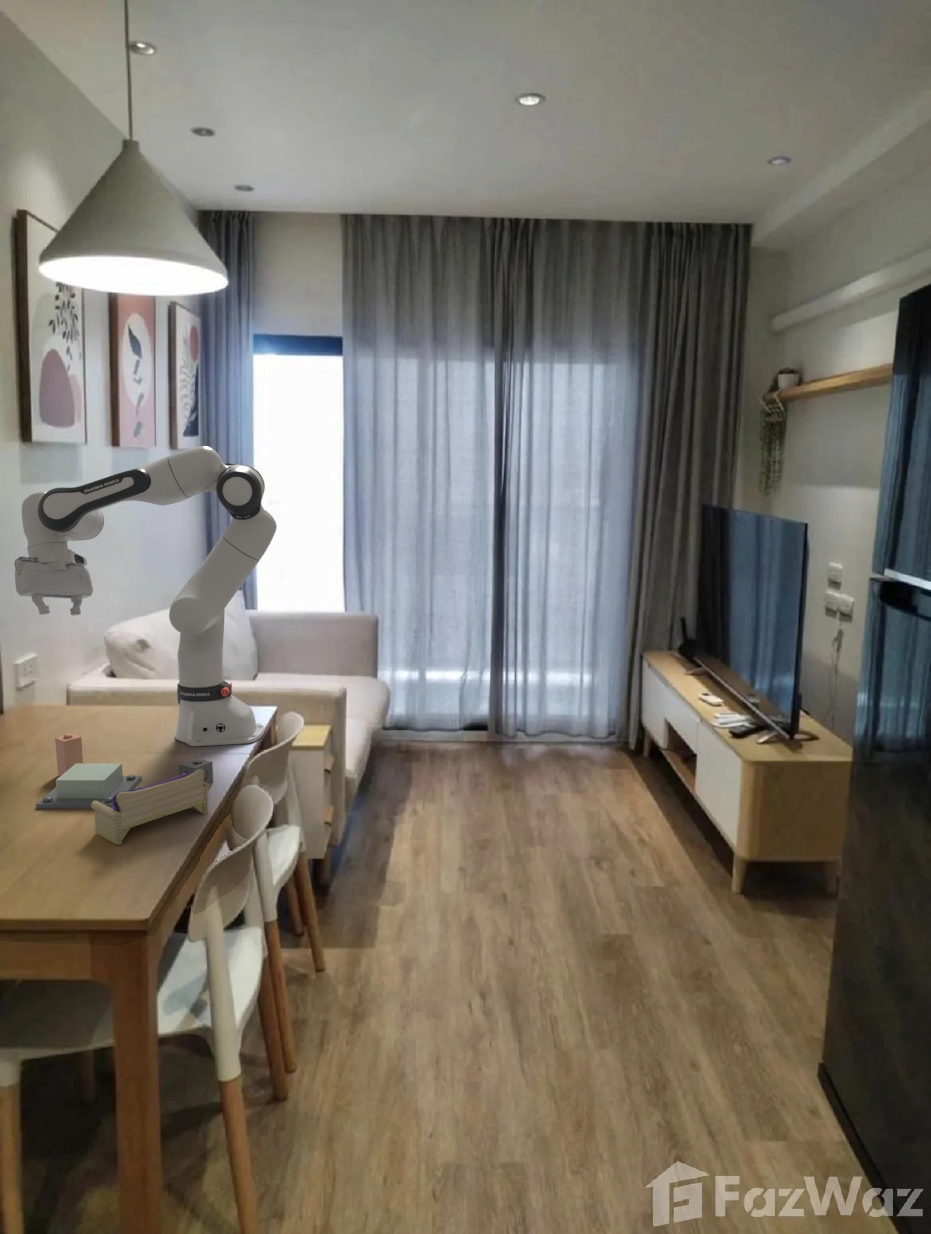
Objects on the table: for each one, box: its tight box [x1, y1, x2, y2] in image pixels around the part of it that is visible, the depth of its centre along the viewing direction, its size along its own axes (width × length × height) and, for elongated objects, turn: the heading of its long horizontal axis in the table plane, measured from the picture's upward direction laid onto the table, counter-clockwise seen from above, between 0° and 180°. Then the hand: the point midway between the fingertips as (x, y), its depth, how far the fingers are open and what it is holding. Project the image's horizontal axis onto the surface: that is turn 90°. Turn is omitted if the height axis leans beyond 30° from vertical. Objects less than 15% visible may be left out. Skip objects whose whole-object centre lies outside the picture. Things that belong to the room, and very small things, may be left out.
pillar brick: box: [54, 733, 84, 777], centre depth 194 cm, size 4×4×10 cm
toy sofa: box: [91, 769, 211, 846], centre depth 169 cm, size 21×9×10 cm, turn 141°
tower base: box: [35, 762, 143, 810], centre depth 184 cm, size 16×16×5 cm
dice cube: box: [178, 757, 214, 785], centre depth 190 cm, size 5×5×5 cm
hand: (60, 614), depth 206 cm, fingers open, 8 cm apart
